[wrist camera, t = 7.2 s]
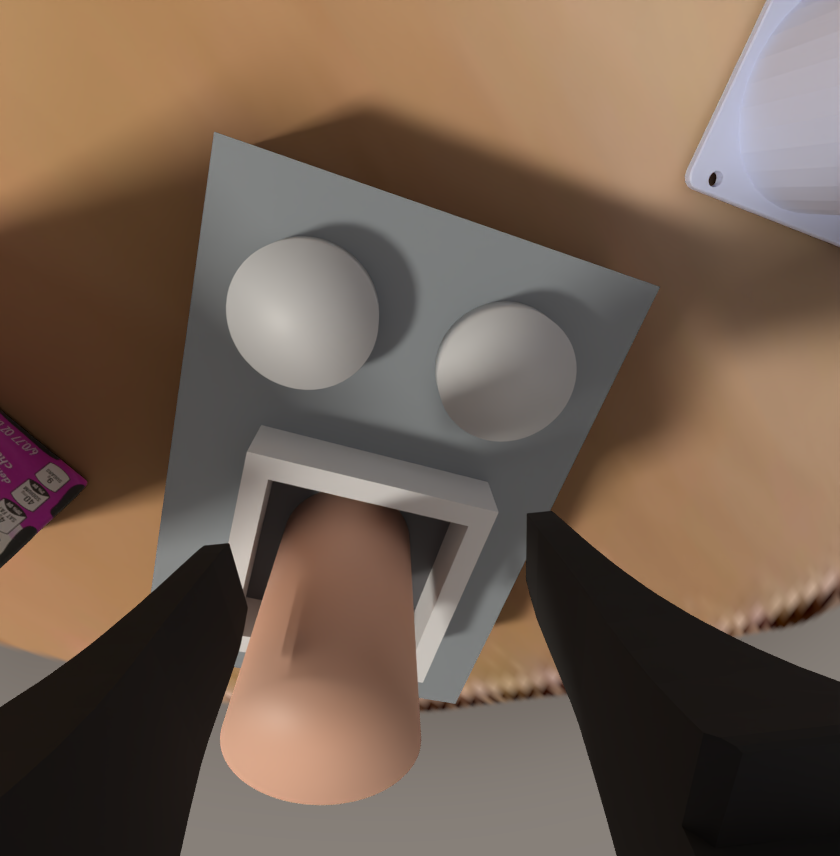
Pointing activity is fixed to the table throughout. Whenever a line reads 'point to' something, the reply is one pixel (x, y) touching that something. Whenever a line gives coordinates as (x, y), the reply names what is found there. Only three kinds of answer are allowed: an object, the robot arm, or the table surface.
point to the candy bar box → (29, 487)
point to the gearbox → (382, 385)
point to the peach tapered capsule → (330, 661)
